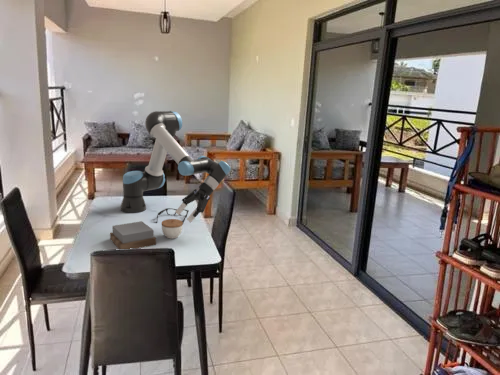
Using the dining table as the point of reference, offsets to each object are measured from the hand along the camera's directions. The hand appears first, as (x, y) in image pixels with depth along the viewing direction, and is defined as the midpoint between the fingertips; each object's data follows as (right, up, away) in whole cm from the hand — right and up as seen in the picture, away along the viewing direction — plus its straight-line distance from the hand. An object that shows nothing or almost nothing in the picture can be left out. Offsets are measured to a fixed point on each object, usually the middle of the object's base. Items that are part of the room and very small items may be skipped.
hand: (182, 217), depth 202 cm
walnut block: (-23, -12, -9) cm, 28 cm away
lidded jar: (-6, -10, 0) cm, 12 cm away
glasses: (-10, -4, +26) cm, 29 cm away
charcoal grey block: (-23, -8, -11) cm, 26 cm away
